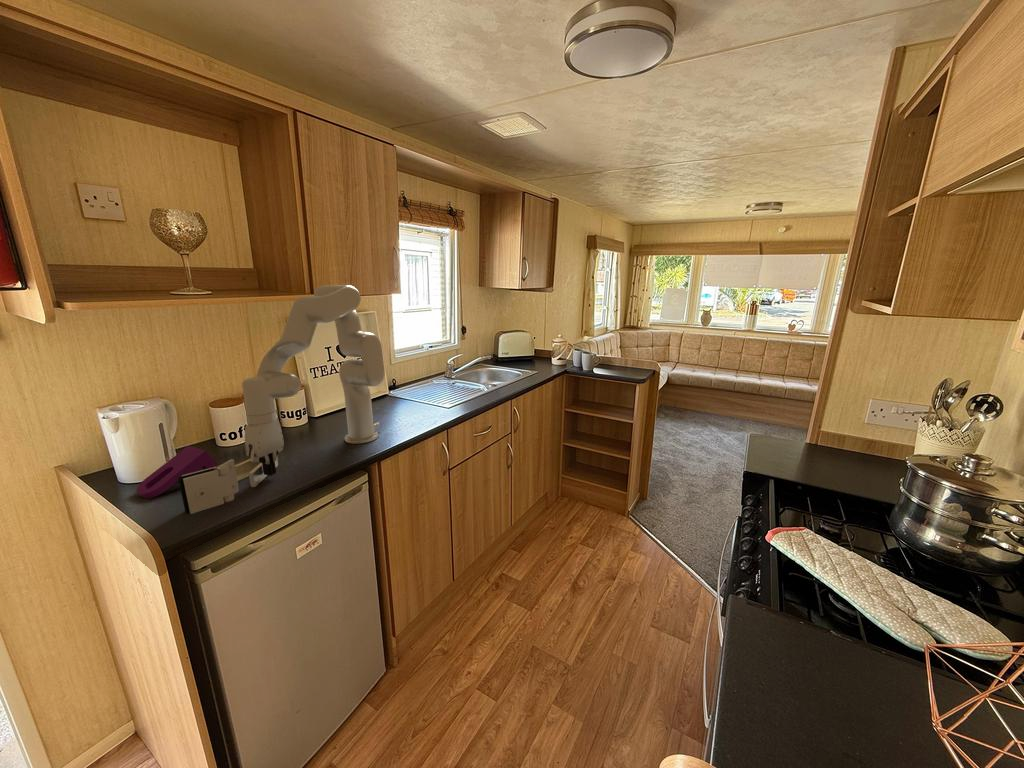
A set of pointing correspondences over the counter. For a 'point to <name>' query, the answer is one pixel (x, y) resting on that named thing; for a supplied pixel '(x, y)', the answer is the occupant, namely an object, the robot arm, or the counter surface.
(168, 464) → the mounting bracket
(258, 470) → the open leaf
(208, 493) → the hinge
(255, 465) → the fixed leaf
